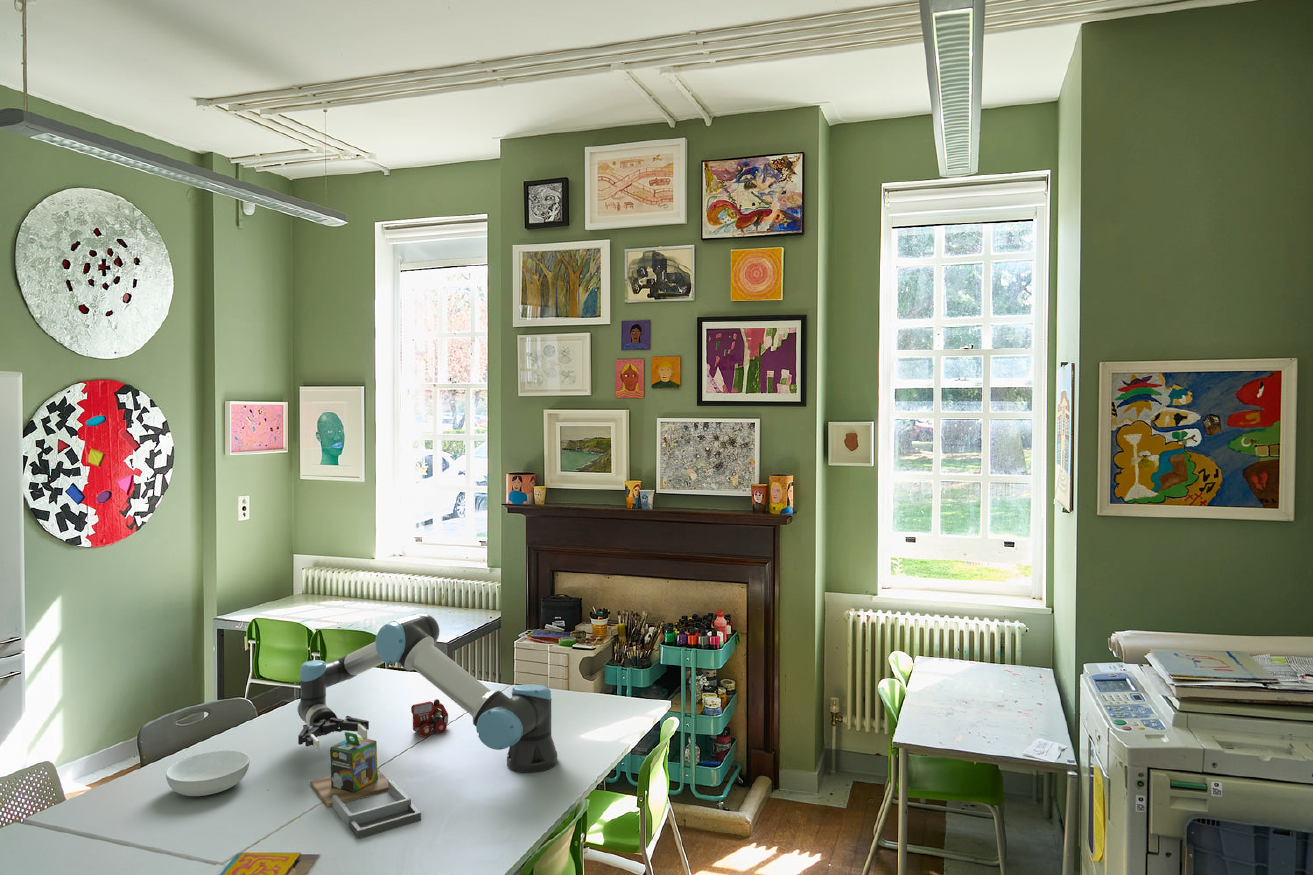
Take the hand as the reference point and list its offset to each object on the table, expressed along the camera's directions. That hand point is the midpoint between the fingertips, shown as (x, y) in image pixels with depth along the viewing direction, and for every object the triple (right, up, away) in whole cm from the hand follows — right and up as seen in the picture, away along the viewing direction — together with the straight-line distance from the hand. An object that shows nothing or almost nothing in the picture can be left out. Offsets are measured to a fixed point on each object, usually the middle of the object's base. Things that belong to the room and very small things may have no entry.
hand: (342, 740), depth 240 cm
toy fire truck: (+16, -11, +36) cm, 40 cm away
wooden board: (+5, -11, -6) cm, 14 cm away
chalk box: (+6, -10, -7) cm, 14 cm away
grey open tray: (+17, -11, -23) cm, 31 cm away
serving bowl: (-35, -11, -7) cm, 37 cm away
